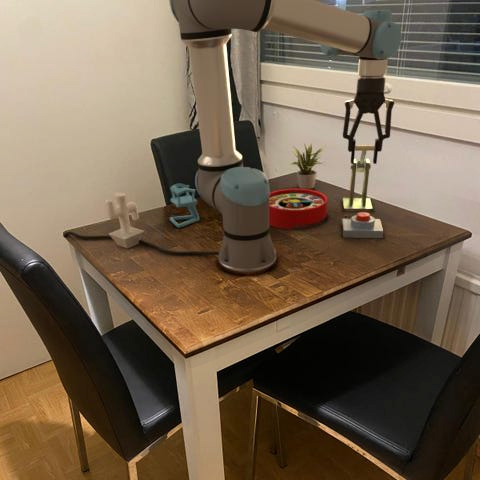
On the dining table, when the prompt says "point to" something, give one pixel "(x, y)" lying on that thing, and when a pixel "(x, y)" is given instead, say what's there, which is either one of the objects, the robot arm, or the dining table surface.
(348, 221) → the button box
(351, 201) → the frame stand
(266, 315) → the dining table surface
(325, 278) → the dining table surface
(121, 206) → the figurine
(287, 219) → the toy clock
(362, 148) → the lever
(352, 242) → the dining table surface
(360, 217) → the button
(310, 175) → the house plant
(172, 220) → the chair
